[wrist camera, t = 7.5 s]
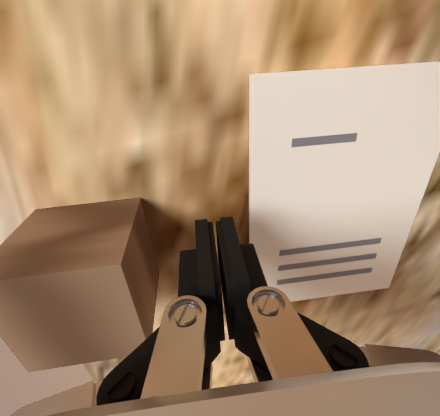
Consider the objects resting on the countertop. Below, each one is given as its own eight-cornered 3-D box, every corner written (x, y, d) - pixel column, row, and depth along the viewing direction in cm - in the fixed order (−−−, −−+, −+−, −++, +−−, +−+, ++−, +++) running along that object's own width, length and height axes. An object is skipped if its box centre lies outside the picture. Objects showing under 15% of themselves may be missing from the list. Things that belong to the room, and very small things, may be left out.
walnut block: (140, 196, 13) (120, 264, 9) (159, 271, 16) (149, 352, 11) (36, 208, 13) (-39, 285, 8) (71, 283, 15) (28, 372, 11)
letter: (469, 59, 12) (474, 59, 11) (387, 285, 19) (389, 288, 18) (249, 74, 11) (250, 74, 11) (248, 305, 18) (249, 307, 18)
